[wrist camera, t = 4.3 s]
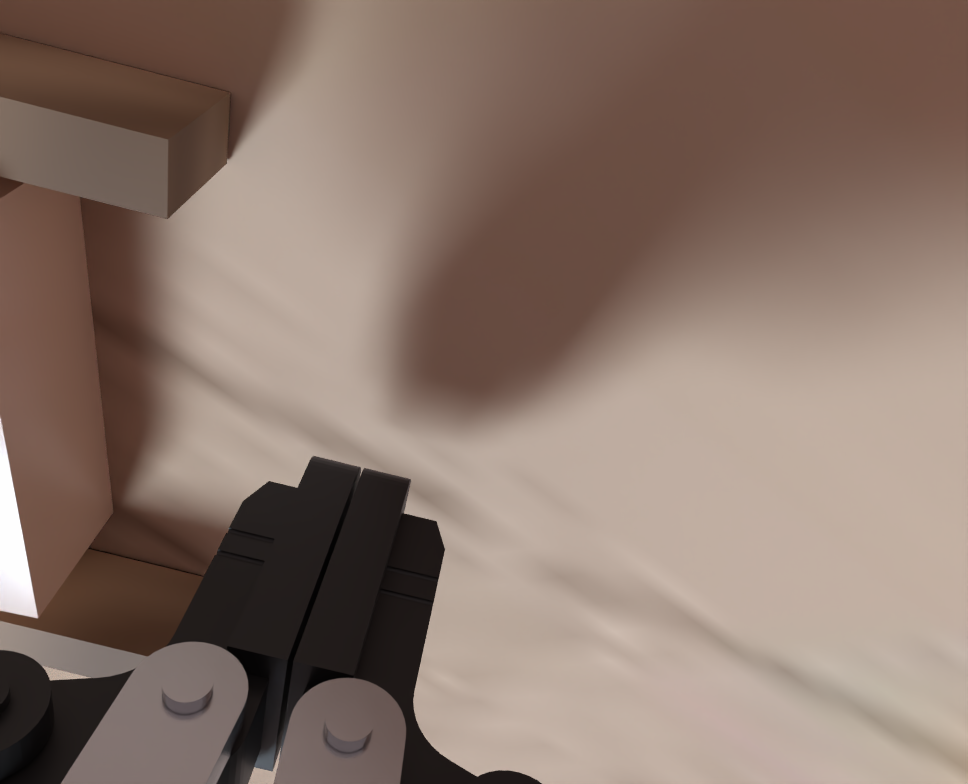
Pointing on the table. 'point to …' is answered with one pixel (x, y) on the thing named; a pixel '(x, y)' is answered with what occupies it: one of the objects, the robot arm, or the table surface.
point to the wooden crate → (132, 185)
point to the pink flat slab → (46, 398)
